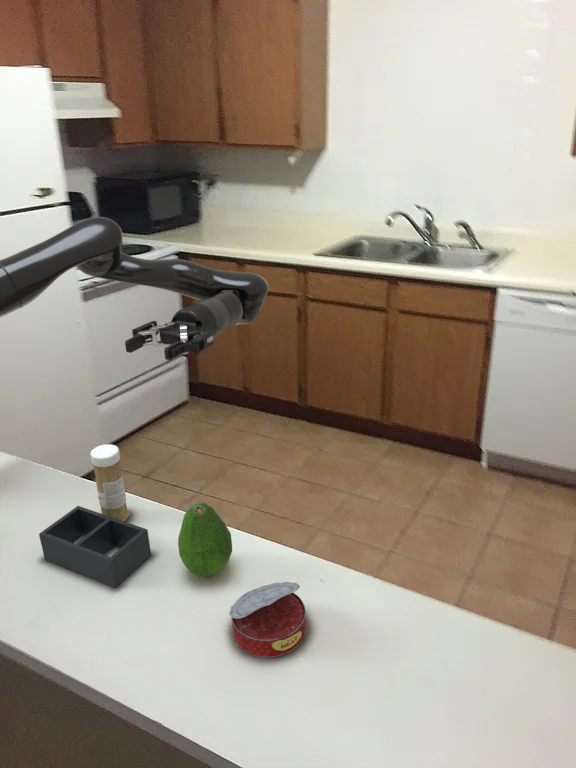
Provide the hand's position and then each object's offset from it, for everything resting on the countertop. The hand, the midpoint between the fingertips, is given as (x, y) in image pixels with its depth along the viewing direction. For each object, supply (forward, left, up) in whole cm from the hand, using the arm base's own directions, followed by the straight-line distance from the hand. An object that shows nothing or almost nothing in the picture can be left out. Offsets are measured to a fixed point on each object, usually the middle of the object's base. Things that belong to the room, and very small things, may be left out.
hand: (146, 351), depth 113 cm
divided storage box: (+4, -22, -26) cm, 34 cm away
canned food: (+36, -23, -26) cm, 50 cm away
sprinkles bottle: (0, -13, -26) cm, 29 cm away
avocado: (+22, -17, -26) cm, 38 cm away
